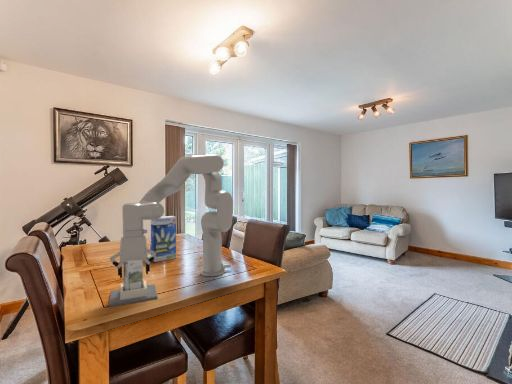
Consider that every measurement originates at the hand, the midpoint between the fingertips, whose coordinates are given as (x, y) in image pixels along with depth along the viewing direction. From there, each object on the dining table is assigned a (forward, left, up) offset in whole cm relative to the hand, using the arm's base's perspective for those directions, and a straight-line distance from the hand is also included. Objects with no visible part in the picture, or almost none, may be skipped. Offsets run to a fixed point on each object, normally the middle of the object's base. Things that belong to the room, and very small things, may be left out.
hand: (134, 275), depth 108 cm
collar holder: (0, 0, -8) cm, 8 cm away
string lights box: (-17, -51, -9) cm, 54 cm away
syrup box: (0, 0, -8) cm, 8 cm away
